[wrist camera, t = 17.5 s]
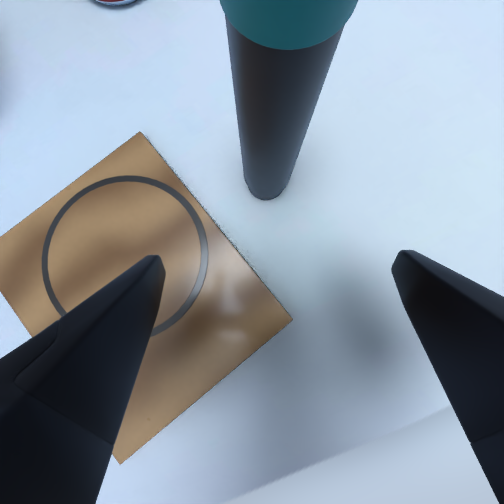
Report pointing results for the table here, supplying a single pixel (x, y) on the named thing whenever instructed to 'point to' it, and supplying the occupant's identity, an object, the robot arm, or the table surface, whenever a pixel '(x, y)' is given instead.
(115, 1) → the soda can
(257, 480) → the table surface
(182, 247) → the sketch board
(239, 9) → the disc
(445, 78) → the table surface
